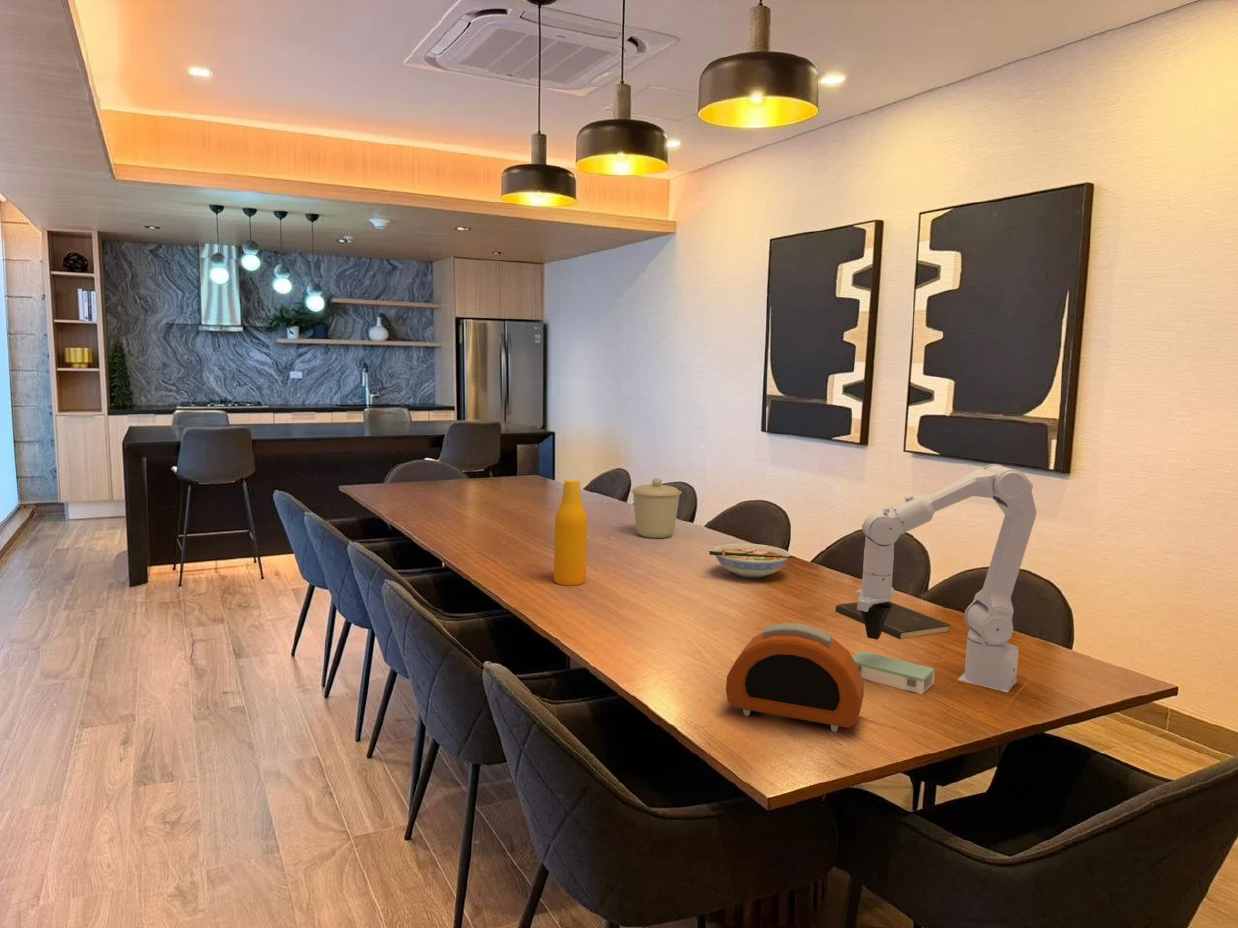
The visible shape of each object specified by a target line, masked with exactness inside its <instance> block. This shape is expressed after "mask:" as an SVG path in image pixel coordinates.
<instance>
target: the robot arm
mask: <svg viewBox="0 0 1238 928" xmlns="http://www.w3.org/2000/svg"><path fill="white" fill-rule="evenodd" d="M1033 487H1034V486H1033V483H1032V482H1031V480H1030V479H1029V478H1028V477H1027V476H1026V474H1025V473H1024V472H1022V471H1020V470H1018V469H1013V468H1009V467H1006V466H1003V465H1002V464H999V463H992V464H988V465H986V466H984V467H983V468H979V469H975V470H973V471H972V472H970V473H969V474H967V475H965V476H963V477H961V478H960V479H958V480H955V481H954V482H952V483H950V484H948V485H946V486H945V487H942V488H941V489H939V490H938V491H935V492H934V493H932V494H930V495H928V496H926V497H925V496H922V495H918V494H916V495H914V496H913V495H911V494H909V495H906V496H905V497H904V499H905V500H903V501H901V502H899V503H897V504H894V505H893V506H891V507H889V506H885V507H884V508H882V510H883V512H882V511H880V512H879V511H877V512H872V513H870V514H868V515H867V517H866V519H864V520H863V523H862V525H861V530H862V532H863V534H864V535H865V539H864V541H865V542H864V549H863V550H864V551H863V565H862V566H863V568H862V582H861V588H859V589H856V591H855V594H856V595H858V596H859V599H858V600H857V602H858V603H857V610H860V611H861V613H862V616H863V618H864V622H865V624H864V626H865V632H866V637H867V638H868V639H872V640H877V641H878V640H879V639H880V637H881V635H882V629H883V625H884V622H885V620H886V617H887V615H888V613H889V612H890V610H891V609H892V604H891V603H887V601H889V602H892V600H893V597H894V590H895V589H894V588H895V587H893V573H894V572H893V571H894V570H893V569H894V559H895V558H894V557H895V552H894V551H895V543H896V542H897V541H898V540H899V537H900V535H903V534H906V533H907V532H910V531H912V530H914V529H916V528H918V527H921V526H922V525H925V524H927V523H929V522H931V521H932V520H933V517H934V514H935V513H936V512H938V511H941V510H943V509H945V508H948V507H950V506H952V505H955V504H957V503H960V502H962V501H964V500H966V499H969V498H972V497H978V498H979V497H980V498H986V499H987V498H988V499H993V501H994V502H996V504H997V505H998V507H999V509H1000V510H1001V511H1002V512H1003V514H1004V517H1003V520H1002V524H1001V527H1000V531H999V534H998V537H997V541H996V544H995V547H994V551H993V553H992V556H991V560H990V563H989V566H988V570H987V573H986V576H985V580H984V584H983V585H982V586H983V587H982V589H981V590H979V591H978V592H977V593H975V596H974V598H973V601H972V602H971V603H970V604H969V605H968V606H967V608H966V609H965V611H964V620H965V623H966V625H967V626H968V627H969V628H968V629H969V630H968V632H967V637H966V639H967V641H966V652H965V664H964V665H965V666H964V673H963V674H962V675H960V677H958V678H957V680H958V681H960V682H964V683H968V684H973V685H976V686H981V687H984V688H988V689H992V690H995V691H1000V692H1004V693H1008V692H1009V691H1010V690H1011V689H1012V687H1014V685H1015V684H1016V683H1017V682H1018V681H1017V677H1018V676H1017V675H1018V667H1019V666H1018V665H1019V653H1020V651H1019V647H1018V646H1017V645H1015V644H1011V643H1009V642H1008V641H1009V640H1010V639H1011V638H1012V636H1013V632H1014V624H1013V617H1014V616H1013V615H1014V607H1013V603H1012V594H1013V591H1014V588H1015V585H1016V582H1017V579H1018V576H1019V572H1020V569H1021V566H1022V563H1023V558H1024V556H1025V553H1026V549H1027V547H1028V543H1029V540H1030V537H1031V534H1032V530H1033V526H1034V524H1035V520H1036V517H1037V509H1036V508H1037V507H1036V504H1035V500H1034V496H1033V492H1032V490H1033Z"/></svg>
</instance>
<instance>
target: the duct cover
mask: <svg viewBox="0 0 1238 928" xmlns="http://www.w3.org/2000/svg"><path fill="white" fill-rule="evenodd" d="M852 658H853V659H854V661H855V663H856V664H857V665H859V666H862V667H866V668H870V669H874V670H878V671H882V672H886V673H890V674H894V675H898V676H901V677H905V678H909V679H913V680H917V681H921V682H923V681H924V680H926V679H927V678H928V677H929V676H930V675H931V674H932V673H933V672H934V673H935V668H933V667H929V666H925V665H920V664H917V663H914V662H908V661H905V660H901V659H897V658H893V657H888V656H884V655H880V654H877V653H876V654H875V653H872V652H869V651H864V650H861V651H859V652H858V653H857V654H854V655H853V656H852Z"/></svg>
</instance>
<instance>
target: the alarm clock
mask: <svg viewBox="0 0 1238 928" xmlns="http://www.w3.org/2000/svg"><path fill="white" fill-rule="evenodd" d="M852 657H853V656H852V654H851V653H850V651H848V649H847V648H846V647H844V646H843V645H842V644H841V643H840V642H839V641H837V640H836V639H834V638H833V635H832V634H831V633H829V632H827V631H825V630H823V629H820V628H818V627H814V626H811V625H807V624H804V623H800V622H799V623H798V622H797V623H795V622H786V623H785V622H784V623H783V622H781V623H776V624H771V625H768V626H766V628H764V631H763V632H761V633H759V634H757V635H755V636H754V637H752V639H751V640H750V641H749V642H748V643H747V644H746V645H745V646H744V648H743V650H742V651H741V652H740V654H739V655H738V657H737V658H736V659H735V661H734V663H733V665H732V666H731V668H730V670H729V671H728V673H727V675H726V682H725V693H726V699H727V702H728V703H729V704H730V705H731V706H732V707H733V709H734V708H735V709H740V710H742V712H743V715H744V716H745V717H749V716H750V714H751V712H758V713H761V714H767V715H773V716H779V717H785V718H789V719H790V718H791V719H796V720H803V721H808V722H814V723H819V724H824V725H829V726H830V729H831V732H835V733H837V731H838V728H839V727H840V728H841V727H842V728H847V729H848V728H850V727H852V726H854V725H857V723H858V719H859V717H860V714H861V709H862V705H863V701H864V697H865V696H864V693H865V691H864V690H865V689H864V688H865V681H864V679H862V676H861V674H860V671H859V669H858V666H857V664H856V663H855V661H854V659H853V658H852Z"/></svg>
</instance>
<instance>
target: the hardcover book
mask: <svg viewBox="0 0 1238 928" xmlns="http://www.w3.org/2000/svg"><path fill="white" fill-rule="evenodd" d="M857 603H858V601H857V602H856V601H855V602H849V603H841V604H836V606H835V613H838V614H840V615H843V616H845V617H847V618H850V619H852V620H853V621H857V622H859V623H861V624H864V625H865V622H864V618H863V616H862V613H861V611H860V610H857ZM887 603H891V604H892V609H891V610H890V612H889V613H888V615H887V617H886V620H885V622H884V625H883V629H882V632H883V633H884V634H887V635H889V636H891V637H894V638H896V639H898V640H902V639H907V638H908V639H909V638H914V637H915V638H916V637H920V636H921V637H922V636H927V635H935V634H941V633H948V632H949V627H951V624H949V623H947V622H945V621H942V620H939V619H936V618H934V617H931V616H928V615H926V614H923V613H921V612H918V611H916V610H913V609H910V608H908V607H905V606H902V605H900V604H897V603H895V602H893V601H887ZM882 632H881V633H882Z"/></svg>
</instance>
